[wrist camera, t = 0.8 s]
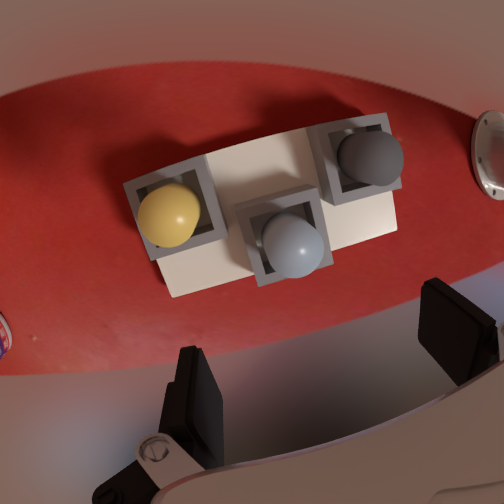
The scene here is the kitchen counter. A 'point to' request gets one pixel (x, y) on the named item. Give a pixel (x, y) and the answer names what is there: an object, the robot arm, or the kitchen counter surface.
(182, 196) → the mustard button
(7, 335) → the pill bottle
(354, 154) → the charcoal button
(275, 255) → the slate button
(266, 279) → the console
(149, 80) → the kitchen counter surface
